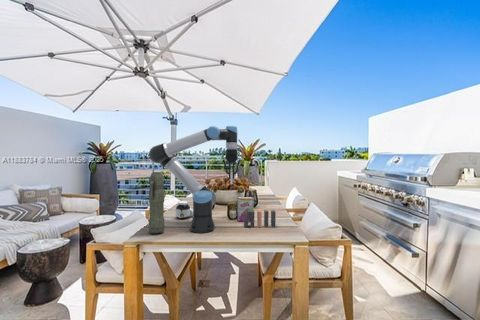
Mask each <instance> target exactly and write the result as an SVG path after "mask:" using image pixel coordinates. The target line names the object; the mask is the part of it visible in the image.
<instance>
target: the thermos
mask: <svg viewBox="0 0 480 320" xmlns="http://www.w3.org/2000/svg"><path fill="white" fill-rule="evenodd" d="M164 178H165V177H164V174H163V173H162V172H159V171H158V172H157V171H153V172H151V174H150V177H149V192H148V203H149V218H148V233H150V234H160V233H163V232H164V231H165V218H164V217H165V216H164V212H165V210H164V209H165V208H164V206H165V205H164V204H165V191H164V190H165V189H164Z"/></svg>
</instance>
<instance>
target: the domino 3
mask: <svg viewBox="0 0 480 320" xmlns="http://www.w3.org/2000/svg"><path fill="white" fill-rule="evenodd" d="M256 215H257V219H256V220H257V222H256V223H257V224H256V225H257V227H258V228H262V210H261V209H257V214H256Z"/></svg>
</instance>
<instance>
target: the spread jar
mask: <svg viewBox="0 0 480 320" xmlns="http://www.w3.org/2000/svg"><path fill="white" fill-rule="evenodd" d="M188 202H189V201H185V200H184V201H182V200H181V201H178V204H177V205H176V207H175V216H176V218H177V219H180V220H186V219H188V218H189V217H192V218H193V207H192V208H191V207H190V205H189V203H188Z"/></svg>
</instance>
